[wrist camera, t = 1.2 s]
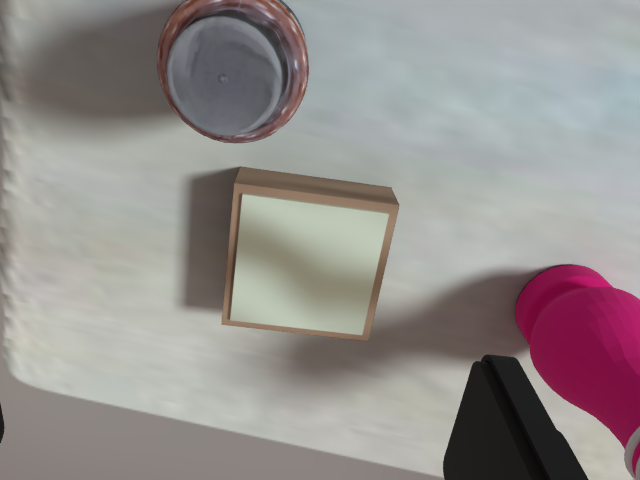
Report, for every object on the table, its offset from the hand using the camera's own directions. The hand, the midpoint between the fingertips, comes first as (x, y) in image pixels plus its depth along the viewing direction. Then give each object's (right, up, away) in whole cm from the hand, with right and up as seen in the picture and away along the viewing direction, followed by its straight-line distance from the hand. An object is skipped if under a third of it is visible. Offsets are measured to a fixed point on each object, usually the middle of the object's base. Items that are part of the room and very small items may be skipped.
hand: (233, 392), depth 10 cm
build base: (+1, +3, +23) cm, 23 cm away
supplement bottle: (-2, +13, +18) cm, 22 cm away
